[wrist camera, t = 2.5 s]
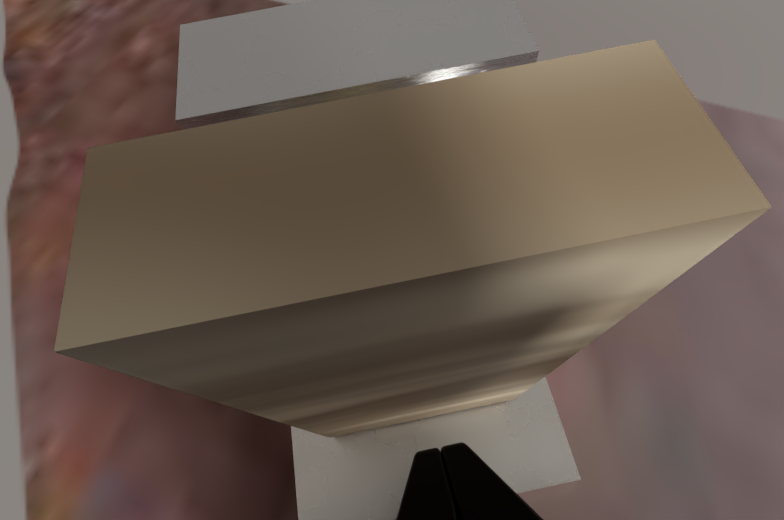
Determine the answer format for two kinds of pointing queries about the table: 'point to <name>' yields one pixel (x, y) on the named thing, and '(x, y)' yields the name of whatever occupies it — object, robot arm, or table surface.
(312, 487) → the bearing block
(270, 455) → the table surface
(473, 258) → the shaft carriage
